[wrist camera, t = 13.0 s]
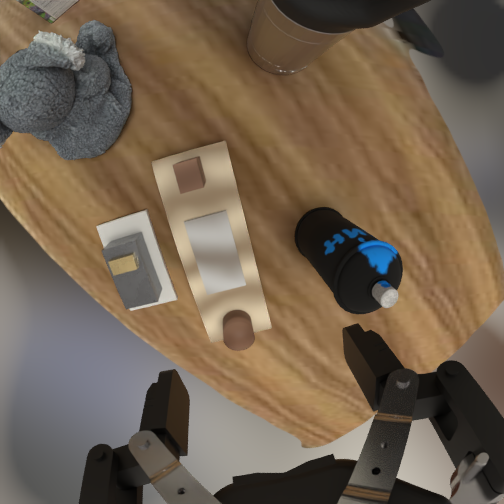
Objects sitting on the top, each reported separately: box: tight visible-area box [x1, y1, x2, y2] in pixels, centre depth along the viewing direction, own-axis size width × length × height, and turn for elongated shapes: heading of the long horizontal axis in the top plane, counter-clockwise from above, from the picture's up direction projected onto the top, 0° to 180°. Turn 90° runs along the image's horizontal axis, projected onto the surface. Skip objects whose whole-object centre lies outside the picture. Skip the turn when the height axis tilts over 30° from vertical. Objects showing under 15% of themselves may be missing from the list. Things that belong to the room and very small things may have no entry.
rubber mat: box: [96, 209, 178, 311], centre depth 42 cm, size 14×8×1 cm, turn 13°
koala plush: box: [0, 20, 132, 160], centre depth 24 cm, size 17×18×20 cm
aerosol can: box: [295, 207, 403, 314], centre depth 34 cm, size 8×8×20 cm
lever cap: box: [102, 232, 162, 309], centre depth 39 cm, size 9×5×5 cm, turn 13°
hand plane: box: [151, 141, 272, 351], centre depth 37 cm, size 26×9×11 cm, turn 13°
